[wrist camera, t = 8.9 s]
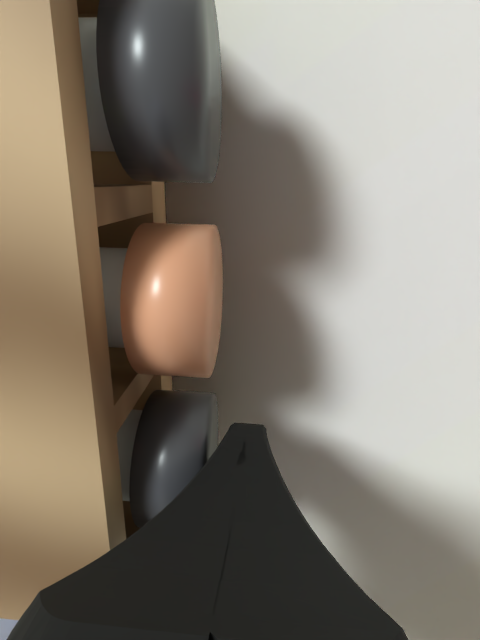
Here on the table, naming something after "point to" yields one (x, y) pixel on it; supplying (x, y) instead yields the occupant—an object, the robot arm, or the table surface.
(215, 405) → the knob
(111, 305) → the knob middle
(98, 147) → the knob
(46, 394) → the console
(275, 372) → the table surface
